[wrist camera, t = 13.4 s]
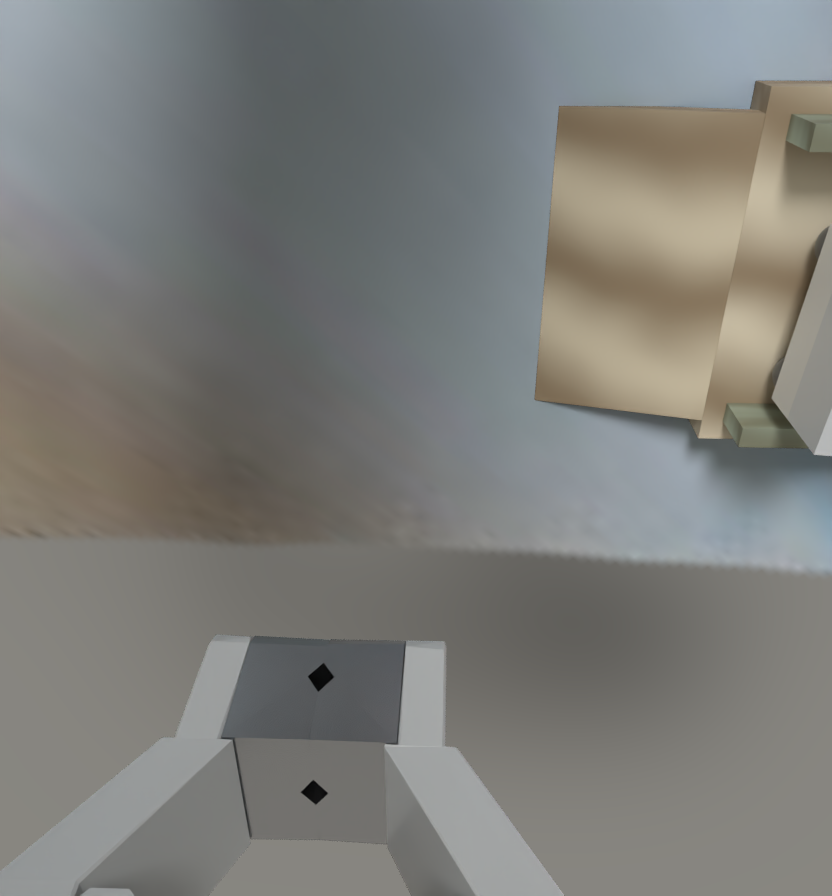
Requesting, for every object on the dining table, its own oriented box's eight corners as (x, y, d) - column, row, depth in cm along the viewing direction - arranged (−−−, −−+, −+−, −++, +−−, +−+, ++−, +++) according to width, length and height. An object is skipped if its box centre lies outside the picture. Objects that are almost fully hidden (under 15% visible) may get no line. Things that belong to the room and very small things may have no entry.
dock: (558, 77, 34) (575, 94, 29) (1112, 78, 33) (1219, 95, 28) (531, 408, 42) (541, 461, 37) (974, 415, 41) (1040, 471, 37)
